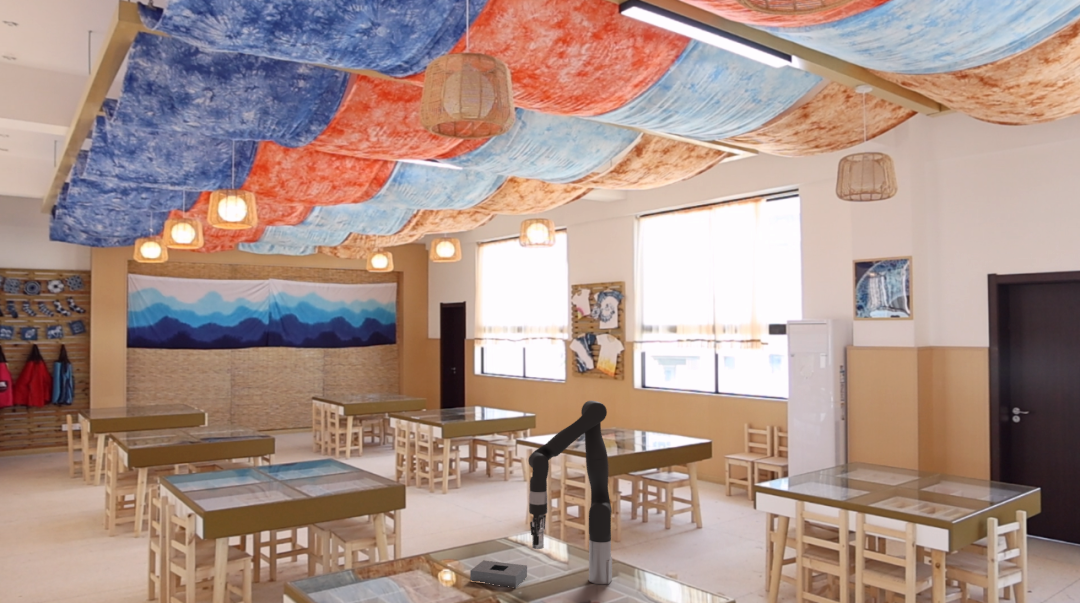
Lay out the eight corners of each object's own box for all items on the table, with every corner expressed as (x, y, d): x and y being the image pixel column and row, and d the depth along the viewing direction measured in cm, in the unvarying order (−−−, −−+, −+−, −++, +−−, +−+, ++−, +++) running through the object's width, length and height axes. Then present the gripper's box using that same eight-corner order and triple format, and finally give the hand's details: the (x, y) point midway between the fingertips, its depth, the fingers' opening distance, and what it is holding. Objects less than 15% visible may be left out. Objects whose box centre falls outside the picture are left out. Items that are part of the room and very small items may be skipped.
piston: (545, 546, 310) (545, 526, 310) (541, 549, 305) (541, 529, 306) (534, 545, 311) (534, 525, 312) (530, 548, 307) (530, 528, 307)
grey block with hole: (526, 577, 317) (527, 565, 317) (515, 588, 304) (515, 575, 304) (483, 571, 323) (483, 560, 323) (470, 582, 310) (470, 570, 310)
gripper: (541, 506, 301) (541, 549, 301) (552, 498, 315) (551, 539, 314) (524, 504, 303) (523, 547, 303) (535, 497, 317) (534, 537, 316)
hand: (538, 543), depth 308 cm, fingers closed on piston, 4 cm apart
